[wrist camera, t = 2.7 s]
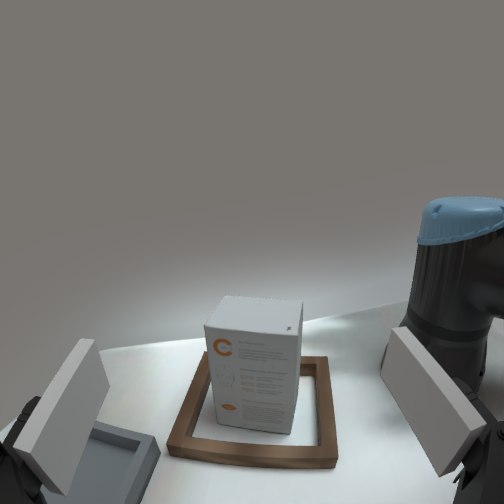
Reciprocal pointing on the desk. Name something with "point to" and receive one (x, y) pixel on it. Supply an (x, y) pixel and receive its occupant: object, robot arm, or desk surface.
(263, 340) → the small box
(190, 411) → the walnut frame
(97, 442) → the slate tray
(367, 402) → the desk surface
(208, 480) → the desk surface
